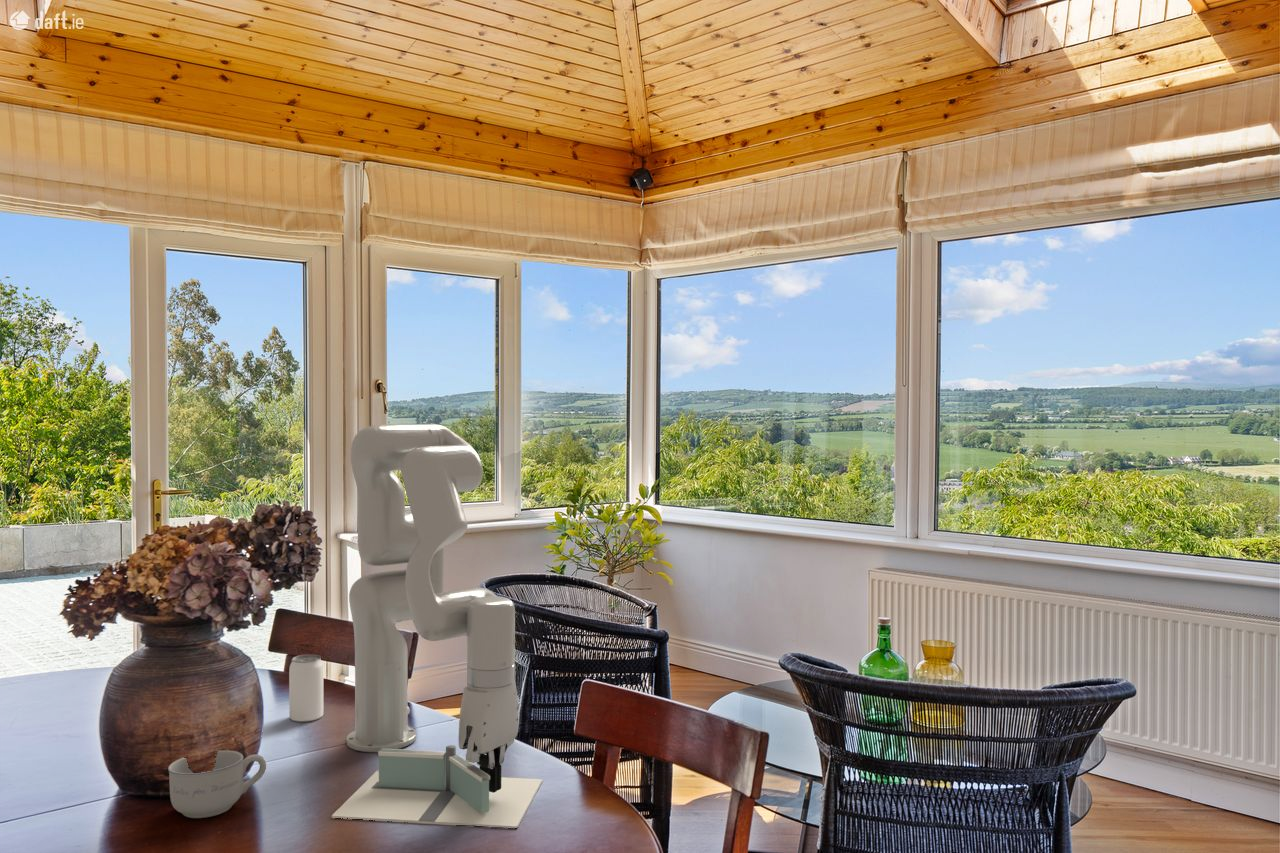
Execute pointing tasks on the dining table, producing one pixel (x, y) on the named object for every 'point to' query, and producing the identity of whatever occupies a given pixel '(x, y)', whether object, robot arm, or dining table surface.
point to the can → (306, 688)
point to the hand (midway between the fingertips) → (490, 789)
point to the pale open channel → (469, 783)
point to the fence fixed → (415, 768)
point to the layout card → (439, 804)
